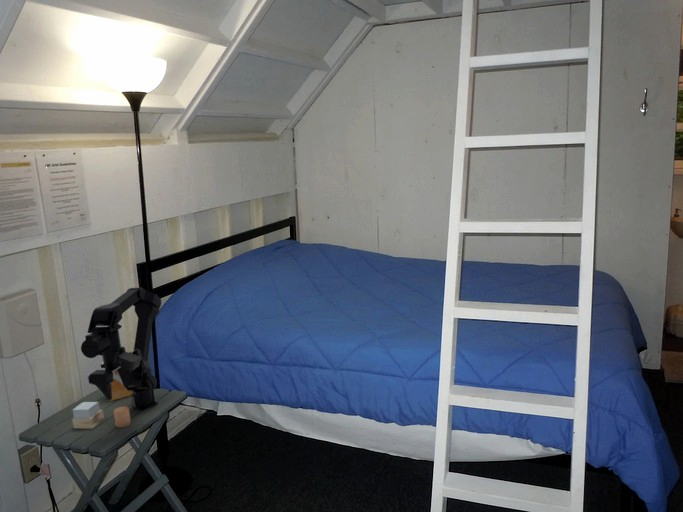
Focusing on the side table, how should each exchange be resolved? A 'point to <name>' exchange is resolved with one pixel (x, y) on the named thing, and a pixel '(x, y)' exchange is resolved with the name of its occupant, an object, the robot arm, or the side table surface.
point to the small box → (118, 387)
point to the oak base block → (88, 421)
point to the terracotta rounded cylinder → (122, 416)
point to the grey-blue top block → (86, 410)
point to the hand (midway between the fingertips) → (118, 393)
